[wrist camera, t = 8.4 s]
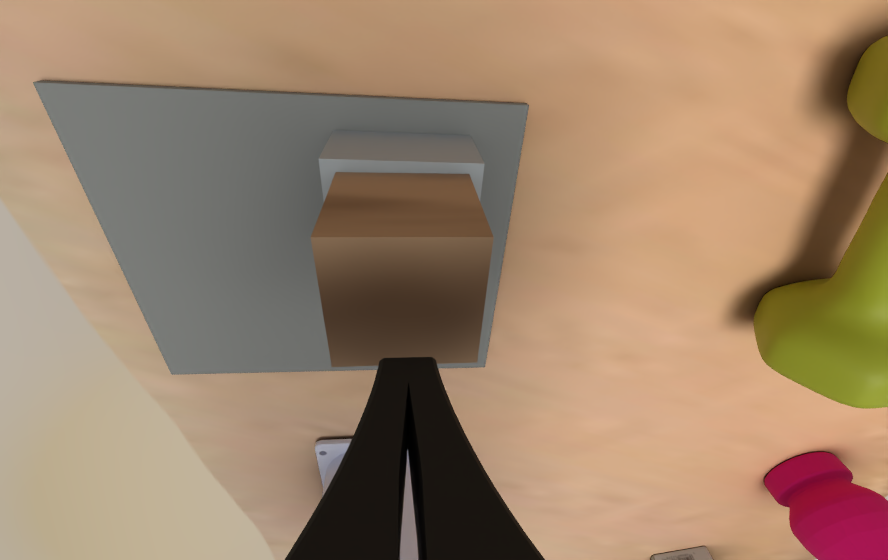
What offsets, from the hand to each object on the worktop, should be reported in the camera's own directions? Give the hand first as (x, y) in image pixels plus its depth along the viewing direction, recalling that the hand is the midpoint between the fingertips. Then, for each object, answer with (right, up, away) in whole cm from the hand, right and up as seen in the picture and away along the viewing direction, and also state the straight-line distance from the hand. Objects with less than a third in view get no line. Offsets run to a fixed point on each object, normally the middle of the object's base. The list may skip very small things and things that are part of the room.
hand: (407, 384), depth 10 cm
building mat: (-5, +4, +9) cm, 11 cm away
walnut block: (-1, +4, +4) cm, 6 cm away
